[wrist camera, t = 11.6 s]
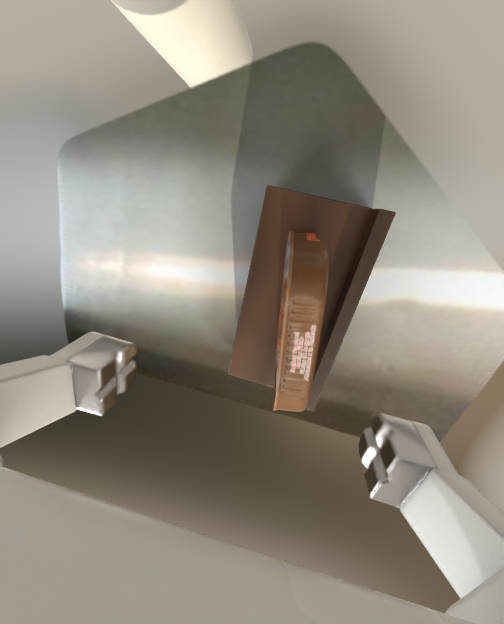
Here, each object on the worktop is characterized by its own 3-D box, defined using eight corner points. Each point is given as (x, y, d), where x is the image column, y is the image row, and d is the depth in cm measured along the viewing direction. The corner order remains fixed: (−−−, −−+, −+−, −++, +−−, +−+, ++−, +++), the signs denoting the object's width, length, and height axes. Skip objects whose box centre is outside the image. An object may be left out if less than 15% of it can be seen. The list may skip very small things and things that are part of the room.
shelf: (237, 352, 34) (222, 385, 27) (273, 189, 25) (263, 182, 19) (311, 372, 33) (313, 412, 26) (371, 211, 25) (396, 212, 18)
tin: (288, 226, 22) (281, 236, 14) (325, 229, 21) (338, 240, 14) (273, 370, 28) (263, 432, 20) (302, 374, 27) (303, 439, 20)
